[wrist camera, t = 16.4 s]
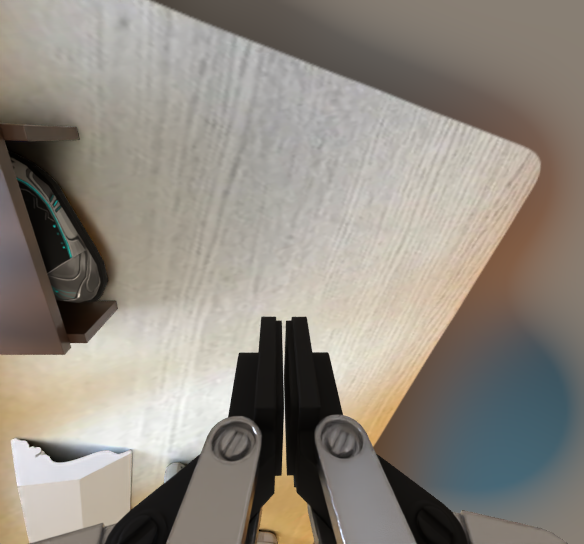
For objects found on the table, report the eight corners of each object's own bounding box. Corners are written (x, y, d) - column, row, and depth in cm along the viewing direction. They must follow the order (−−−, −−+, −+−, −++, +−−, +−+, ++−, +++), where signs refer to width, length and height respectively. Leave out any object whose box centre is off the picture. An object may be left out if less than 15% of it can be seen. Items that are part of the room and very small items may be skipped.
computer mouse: (-3, 110, 25) (-77, 103, 19) (141, 269, 31) (114, 296, 26) (-72, 166, 26) (-159, 174, 21) (79, 307, 33) (41, 340, 27)
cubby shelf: (-73, 112, 24) (-194, 104, 18) (75, 120, 25) (8, 115, 19) (8, 311, 32) (-57, 354, 26) (118, 312, 33) (82, 354, 27)
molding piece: (110, 516, 61) (127, 567, 55) (36, 563, 53) (46, 628, 47) (110, 402, 48) (132, 452, 42) (10, 440, 40) (20, 509, 34)
